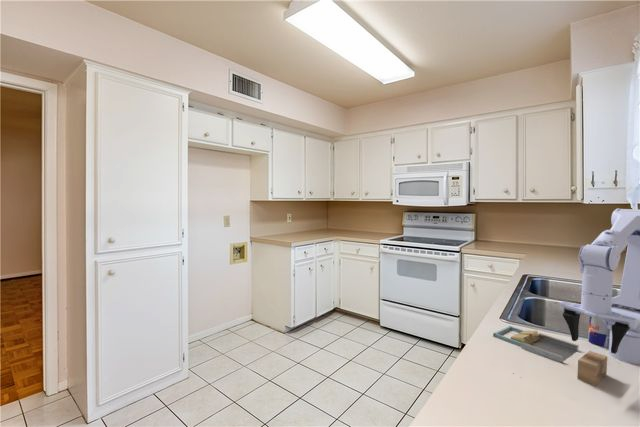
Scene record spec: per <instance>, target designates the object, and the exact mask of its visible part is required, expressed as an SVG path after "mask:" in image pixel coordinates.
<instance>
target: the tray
mask: <svg viewBox="0 0 640 427" xmlns="http://www.w3.org/2000/svg"><path fill="white" fill-rule="evenodd" d="M509 331H513V332H516V333H517V334H519V333H521V332H523V331H525V330H523V329H520V328H517V327H514V326H511V325H509V326H507V327H505V328H502V329H500V330H498V331H495V332H493V333H492V334H493V335H492V336H493V337H494V338H496V339H500V340H502V341H505V342H507V343H509V344H513V345H516V346H518V347H521V345H522V343H521V342H519V341H516V340H513V339H511V337H507V336H505V335H503V334H505V333H507V332H509Z"/></svg>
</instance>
